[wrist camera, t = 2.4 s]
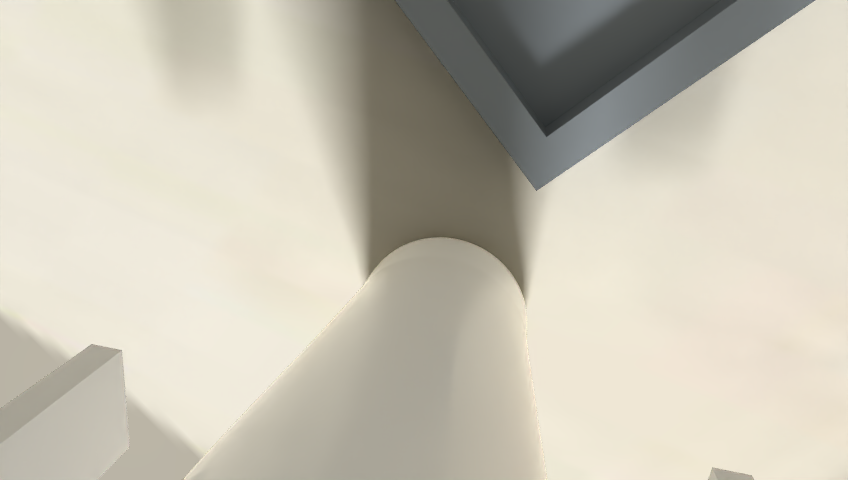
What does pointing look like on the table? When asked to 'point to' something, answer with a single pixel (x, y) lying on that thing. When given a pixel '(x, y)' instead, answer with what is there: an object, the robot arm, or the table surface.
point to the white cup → (401, 383)
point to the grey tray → (582, 63)
